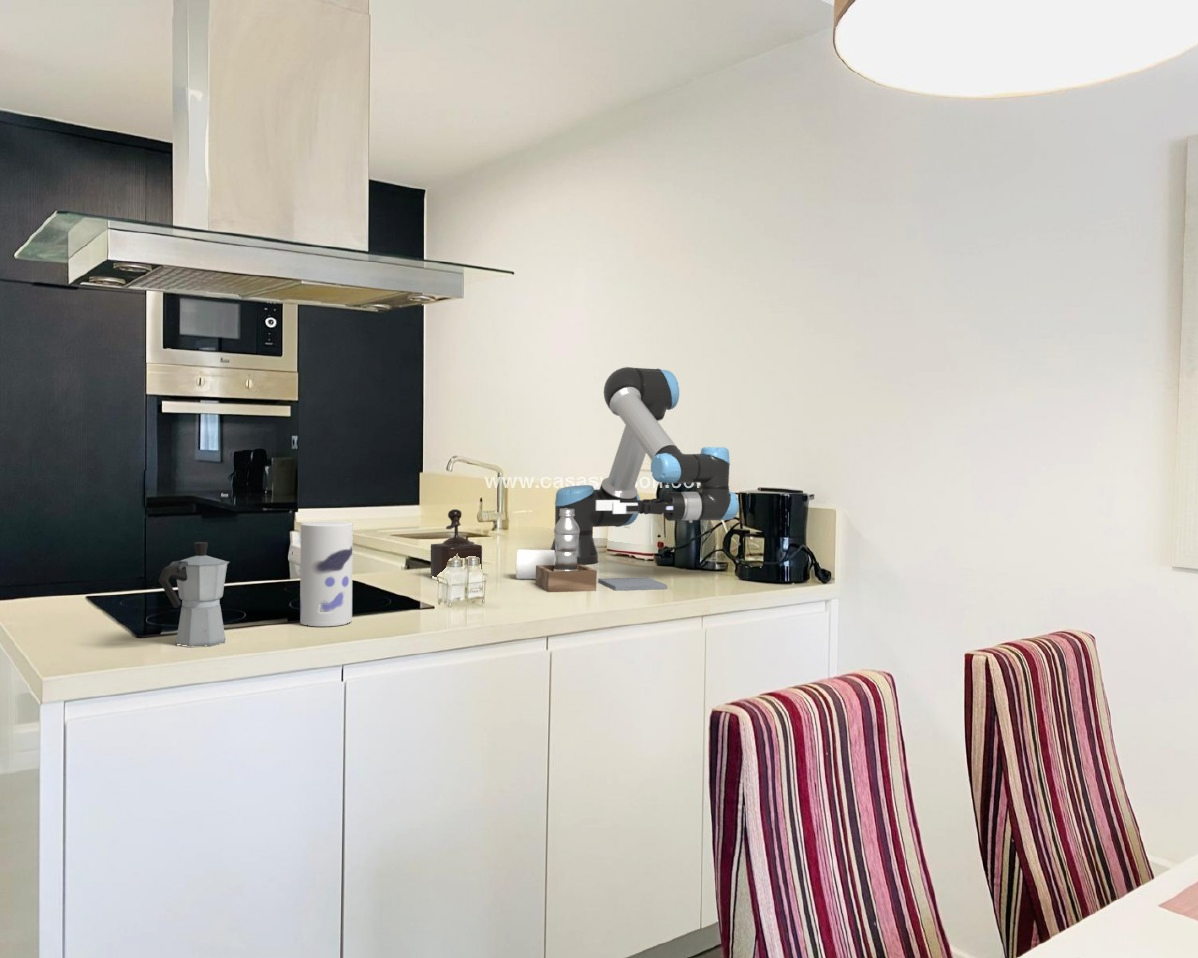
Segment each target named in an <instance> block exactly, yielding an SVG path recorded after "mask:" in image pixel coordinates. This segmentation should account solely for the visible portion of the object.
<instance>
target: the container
mask: <svg viewBox="0 0 1198 958" xmlns="http://www.w3.org/2000/svg"><path fill="white" fill-rule="evenodd" d="M353 525H354V524H353V523H352V522H348V521H332V520H331V521H329V520H328V521H327V520H326V521H322V520H321V521H308V522H302V523H300V573H299V574H300V575H299V576H300V578H299V579H300V582H299V583H300V584H299V586H300V588H299V590H300V591H299V592H300V593H299V597H300V598H299V599H300V600H299V601H300V602H299V618H300V619H299V624H301V625H304V626H307V625H308V626H309V627H337V626H344V625H347V623H348V624H350V623H352V622H351V621H353V553H354V552H353V550H354V549H353V546H354V545H353V544H354V543H353V542H354V540H353V536H354V534H353V530H354V526H353ZM349 622H350V623H349Z"/></svg>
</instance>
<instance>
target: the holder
mask: <svg viewBox="0 0 1198 958" xmlns="http://www.w3.org/2000/svg"><path fill="white" fill-rule="evenodd" d="M554 566H555V565H536V580H535V585H536V586H537V587H539V588H541V589H542V590H544V591H545V592H547V593H560V592H561V593H562V592H564V593H565V592H566V593H568V592H592V591H594V592H595V591H597V574H598V573H597V572H598V571H597V570H596V569H594V568H592V567H589V566H586V564H577V569H578V570H576V571H554Z"/></svg>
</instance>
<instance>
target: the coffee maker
mask: <svg viewBox="0 0 1198 958" xmlns="http://www.w3.org/2000/svg"><path fill="white" fill-rule="evenodd" d="M193 545H194V552H195V555H193V556H190V557H188V558H184V559H181V560H175V561H172V562H170V564H169V565H167V566H165V567H164V568H162V571H161V573H160V576H159V579H158V582H159V584H160V586H161V587H162V588H163V590H164V592H165V594H166V596H167V597H168V599H169V601H170V602H171V605H172V606H173V608H175V609H178V608H179V607H180V605H181V608H180V616H179V622H178V628H177V634H176V639H175V640H176V641H175V644H176V643H177V644H181V645H187V646H205V645H207V646H208V645H209V646H208V647H212V646H211V645H214V646H216V645H215V644H218V645H220V644H219V643H223V644H225V643H226V634H225V626H224V621H223V614H222V608H221V604H220V601H221V600H220V599H221V598H222V597H223V596H224V588H225V584H226V583H225V581H226V576H227V575H226V573H227V568H228V564H229V563H230V561H227V560H223V559H219V558H218V557H217V558H216V557H212V556H209V555H207V550H208V545H209V542H208V541H205V542H204V541H199V542H197V541H196V542H194V543H193ZM170 578H172V579H175V580H176V584H177V591H178V592H177V593H178V595H177V593H176V591H175V590H174V588H173V586H172V584H171V583H170V581H169V579H170ZM181 600H182V601H181Z"/></svg>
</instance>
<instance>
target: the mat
mask: <svg viewBox="0 0 1198 958" xmlns="http://www.w3.org/2000/svg"><path fill="white" fill-rule="evenodd" d="M597 583H598V584H601V585H603V586H605V587H606V588H609V589H611V590H613V591H639V590H642V591H643V590H645V591H648V590H667V589H668V584H666V583H663V582H661V581H658V580H656V579H653V578H651V577H648V576H647V577H646V576H645V577H644V576H643V577H617V578H616V577H615V578H613V577H611V578H609V577H607V578H598V582H597Z"/></svg>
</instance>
